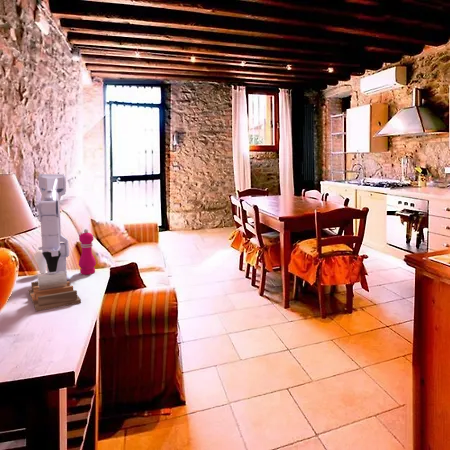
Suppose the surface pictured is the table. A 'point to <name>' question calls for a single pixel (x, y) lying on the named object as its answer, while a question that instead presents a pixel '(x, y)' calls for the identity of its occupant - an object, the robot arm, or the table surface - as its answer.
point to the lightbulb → (40, 261)
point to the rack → (53, 297)
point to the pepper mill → (86, 254)
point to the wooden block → (52, 280)
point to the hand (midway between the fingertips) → (52, 271)
